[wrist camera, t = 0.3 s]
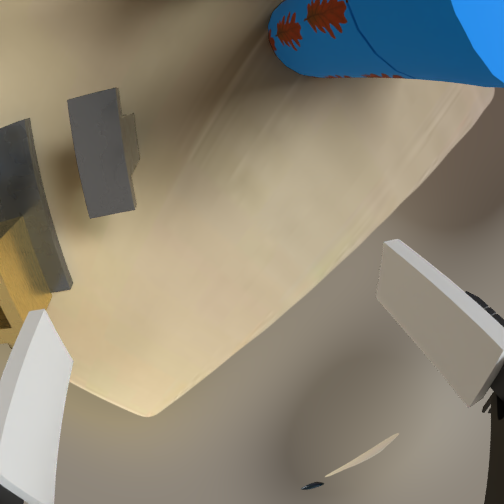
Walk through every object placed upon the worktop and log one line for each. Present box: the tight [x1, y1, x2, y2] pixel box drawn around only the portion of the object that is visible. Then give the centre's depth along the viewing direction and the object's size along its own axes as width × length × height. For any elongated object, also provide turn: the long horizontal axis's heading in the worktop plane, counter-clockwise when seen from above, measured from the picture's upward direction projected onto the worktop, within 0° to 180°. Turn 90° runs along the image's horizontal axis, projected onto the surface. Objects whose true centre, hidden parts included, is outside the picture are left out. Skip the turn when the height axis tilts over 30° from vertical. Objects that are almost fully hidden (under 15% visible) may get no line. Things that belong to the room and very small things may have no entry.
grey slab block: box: [67, 88, 140, 219], centre depth 26 cm, size 10×4×10 cm, turn 4°
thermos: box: [268, 0, 504, 88], centre depth 18 cm, size 11×11×25 cm
